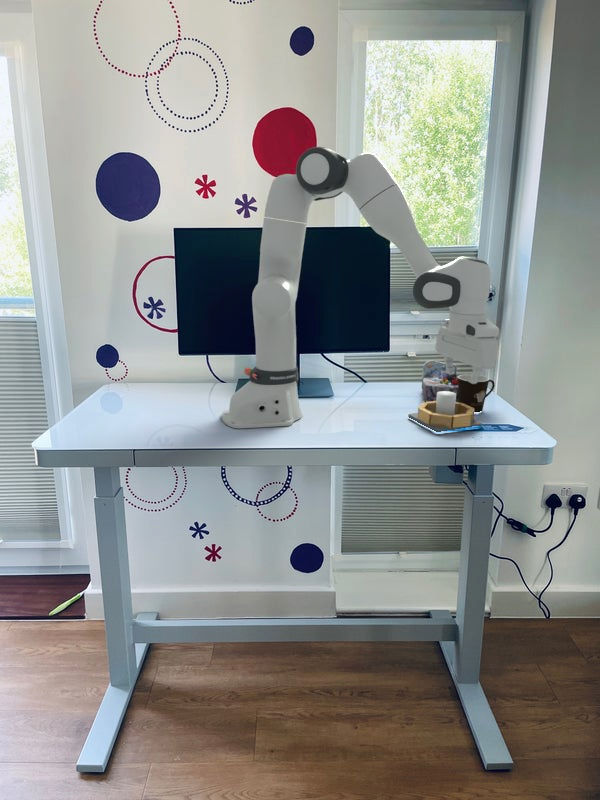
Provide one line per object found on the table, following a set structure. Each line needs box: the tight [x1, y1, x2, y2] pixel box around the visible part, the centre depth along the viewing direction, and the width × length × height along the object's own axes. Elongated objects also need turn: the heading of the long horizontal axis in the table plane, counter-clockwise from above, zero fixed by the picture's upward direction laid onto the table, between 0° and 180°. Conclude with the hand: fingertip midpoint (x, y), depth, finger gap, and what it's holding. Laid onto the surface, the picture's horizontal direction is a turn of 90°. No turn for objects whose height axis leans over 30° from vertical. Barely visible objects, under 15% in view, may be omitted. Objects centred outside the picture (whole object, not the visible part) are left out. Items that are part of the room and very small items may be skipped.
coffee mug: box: [457, 373, 496, 412], centre depth 167 cm, size 12×9×10 cm
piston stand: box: [407, 391, 484, 432], centre depth 157 cm, size 14×14×8 cm
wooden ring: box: [417, 401, 475, 428], centre depth 157 cm, size 14×14×3 cm
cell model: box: [421, 360, 459, 402], centre depth 180 cm, size 13×11×20 cm
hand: (460, 378), depth 148 cm, fingers open, 8 cm apart
